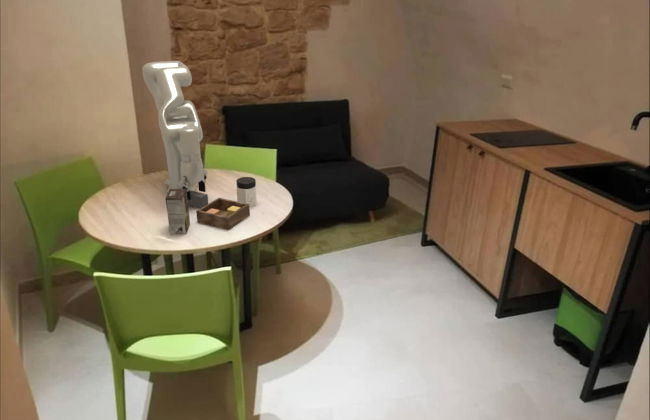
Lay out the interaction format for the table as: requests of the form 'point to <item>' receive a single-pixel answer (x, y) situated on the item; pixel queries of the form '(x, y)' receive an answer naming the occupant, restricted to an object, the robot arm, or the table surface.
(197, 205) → the lid
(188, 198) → the robot arm
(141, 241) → the table surface
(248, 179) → the jar
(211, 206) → the box
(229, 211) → the mustard block
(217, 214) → the terracotta block
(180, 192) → the coffee box
